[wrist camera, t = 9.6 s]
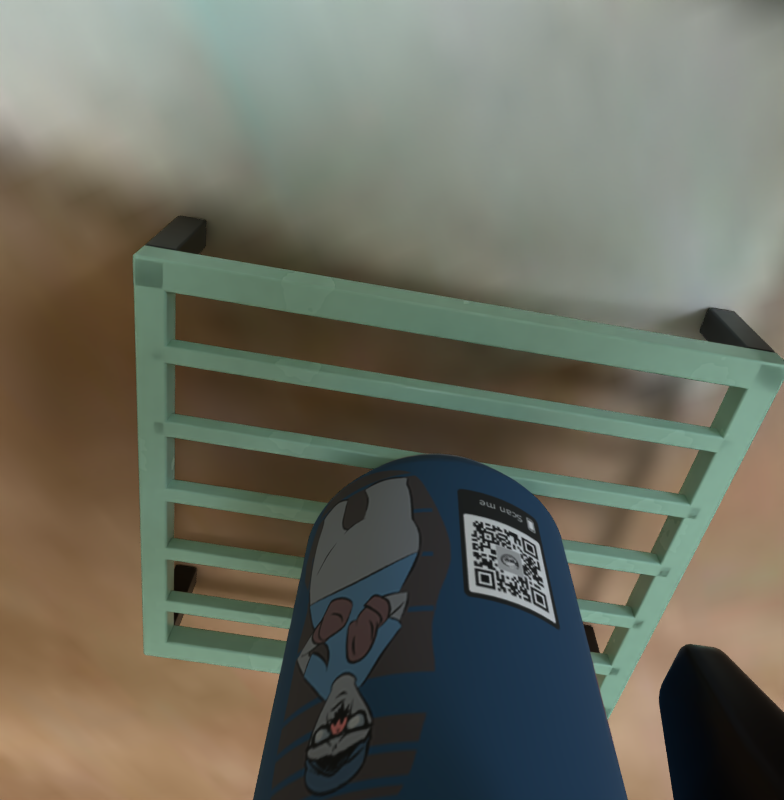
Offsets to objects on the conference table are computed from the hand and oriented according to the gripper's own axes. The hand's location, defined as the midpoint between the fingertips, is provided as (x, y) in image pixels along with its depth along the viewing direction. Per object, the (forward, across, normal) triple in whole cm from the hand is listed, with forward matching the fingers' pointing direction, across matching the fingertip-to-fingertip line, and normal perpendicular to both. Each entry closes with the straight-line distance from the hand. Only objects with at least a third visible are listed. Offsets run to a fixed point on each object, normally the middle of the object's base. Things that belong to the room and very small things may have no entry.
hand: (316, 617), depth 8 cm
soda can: (+10, -3, +6) cm, 12 cm away
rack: (+13, -2, +7) cm, 15 cm away
